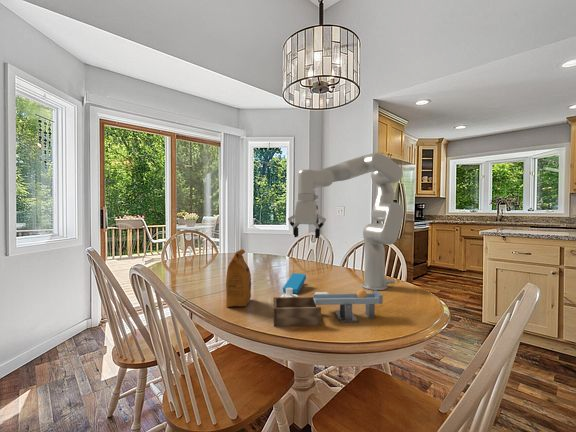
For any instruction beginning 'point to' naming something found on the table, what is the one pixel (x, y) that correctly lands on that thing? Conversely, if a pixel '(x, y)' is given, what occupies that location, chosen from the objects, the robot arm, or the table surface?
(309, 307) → the box
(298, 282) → the blue rectangular block
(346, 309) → the stand
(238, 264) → the coffee package
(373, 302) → the lever
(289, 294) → the teacup and saucer
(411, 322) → the table surface
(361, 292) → the ball
